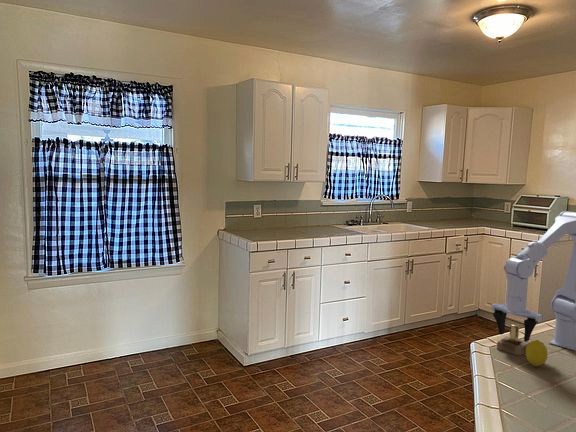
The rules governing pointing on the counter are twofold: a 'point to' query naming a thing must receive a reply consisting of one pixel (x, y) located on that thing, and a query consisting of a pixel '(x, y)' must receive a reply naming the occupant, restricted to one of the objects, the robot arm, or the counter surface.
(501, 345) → the socket block
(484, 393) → the counter surface
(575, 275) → the robot arm
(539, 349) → the lemon
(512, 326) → the brass pin
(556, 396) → the counter surface
